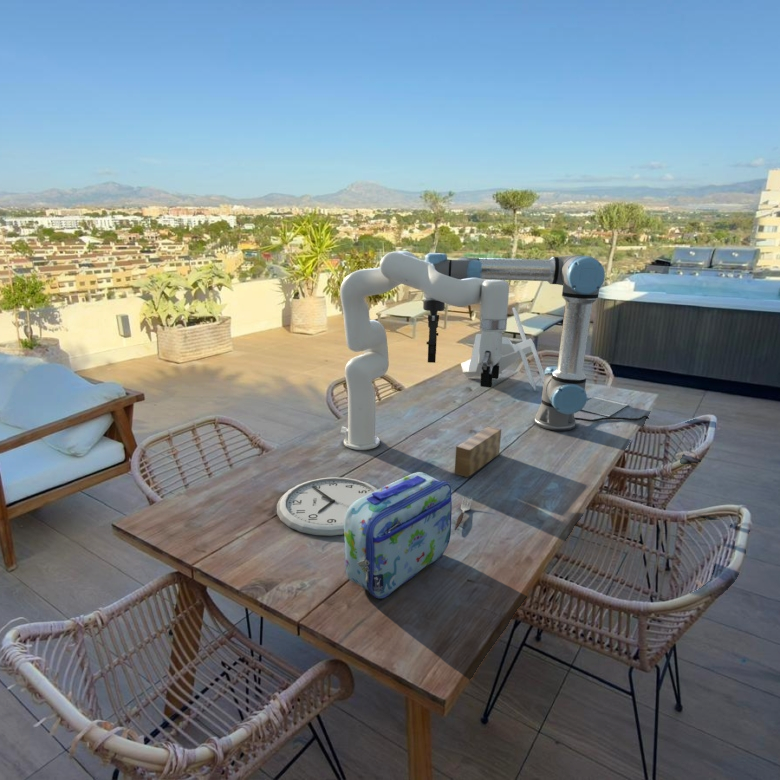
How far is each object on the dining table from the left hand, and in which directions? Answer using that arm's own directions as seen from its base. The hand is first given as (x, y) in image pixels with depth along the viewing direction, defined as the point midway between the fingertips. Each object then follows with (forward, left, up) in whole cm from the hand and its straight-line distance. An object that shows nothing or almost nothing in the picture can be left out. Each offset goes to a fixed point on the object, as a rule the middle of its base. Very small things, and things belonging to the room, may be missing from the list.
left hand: (489, 382), depth 153 cm
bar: (-4, +7, -30) cm, 31 cm away
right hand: (-31, +25, -2) cm, 40 cm away
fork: (+4, -27, -30) cm, 40 cm away
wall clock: (-28, -40, -30) cm, 57 cm away
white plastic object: (-29, +98, -30) cm, 106 cm away
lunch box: (+2, -55, -30) cm, 63 cm away
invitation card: (+20, +90, -30) cm, 97 cm away
